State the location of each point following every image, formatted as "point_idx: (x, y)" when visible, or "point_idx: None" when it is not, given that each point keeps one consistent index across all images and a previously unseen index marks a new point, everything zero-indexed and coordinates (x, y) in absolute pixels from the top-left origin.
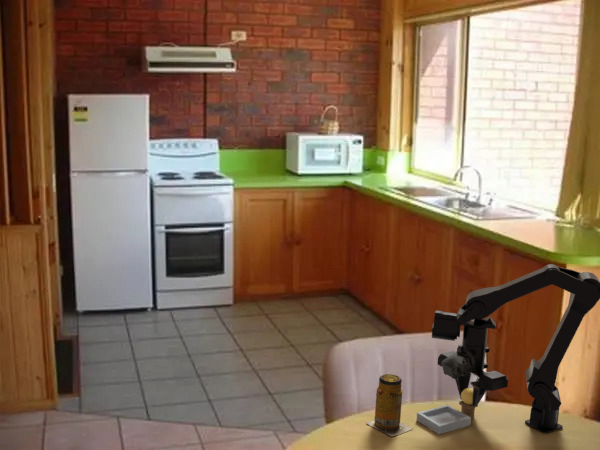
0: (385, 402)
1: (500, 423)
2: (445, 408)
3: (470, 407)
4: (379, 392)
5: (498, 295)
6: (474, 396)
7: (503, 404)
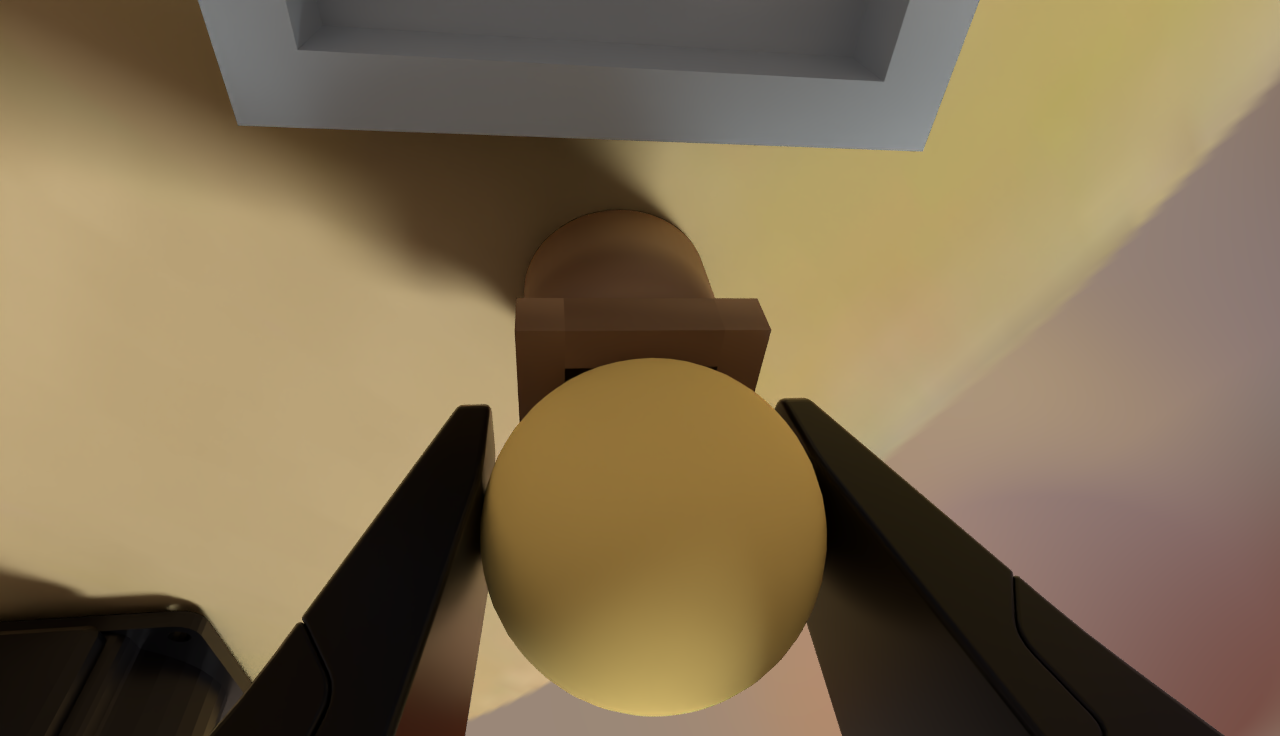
0: None
1: (250, 454)
2: (890, 8)
3: (517, 355)
4: None
5: None
6: (374, 586)
7: None
